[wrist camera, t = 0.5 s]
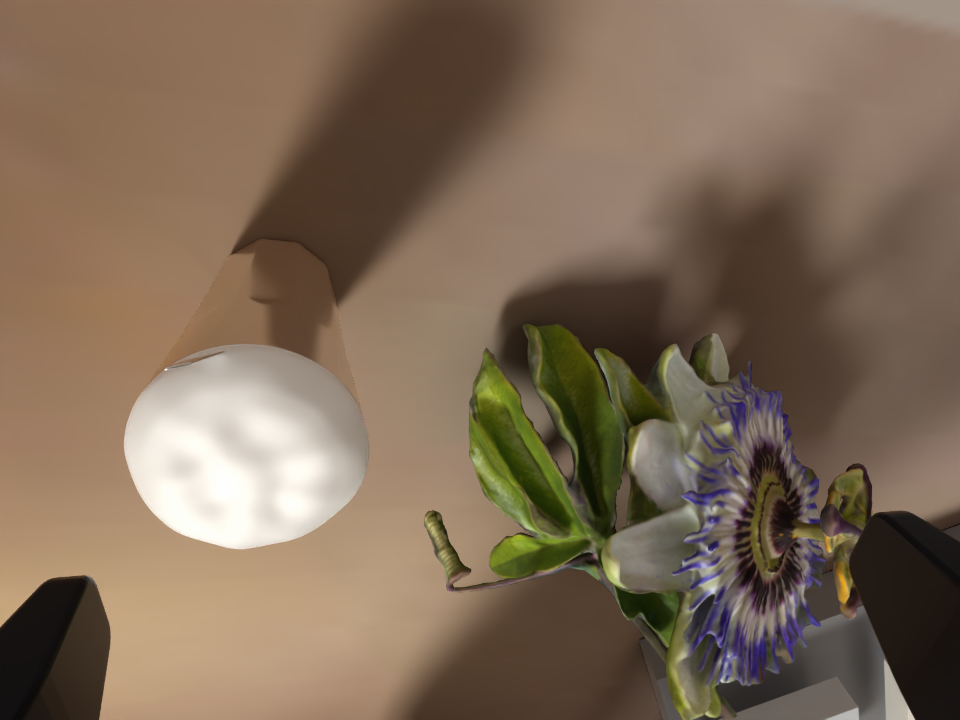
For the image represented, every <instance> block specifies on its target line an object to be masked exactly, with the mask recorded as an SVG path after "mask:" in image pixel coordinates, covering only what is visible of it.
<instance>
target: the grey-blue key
mask: <svg viewBox="0 0 960 720" xmlns="http://www.w3.org/2000/svg"><path fill="white" fill-rule="evenodd" d="M736 714H737V717H735V718H733V719H730V720H859V711H858V706H857V705H856V703H855V702H854V701H853V699H852V698H851V696H850V695H849V693H848V692H847V691H846V689H845V688H844V686H843V685H842V683H841V682H840V680H839V679H838V678H837V677H834V678H831V679H829V680H826V681H823V682H820V683H818V684H815V685H812V686H809V687H806V688H804V689H801V690H798V691H795V692H793V693H790V694H787V695H784V696H782V697H779V698H776V699H773V700H771V701H768V702H765V703H762V704H760V705H757V706H754V707H751V708H748V709H746V710H743V711H740V712H737V713H736ZM718 720H727V719H726V718H725V717H724V718H721V719H718Z"/></svg>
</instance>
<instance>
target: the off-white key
mask: <svg viewBox="0 0 960 720" xmlns="http://www.w3.org/2000/svg"><path fill="white" fill-rule="evenodd" d="M884 676H885V705H886V720H915V719H914V717H913V715H912V713H911V711H910V710H909V708H908V706H907V704H906V702H905V700H904V698H903V696H902V694H901V692H900V690H899V687H898V685H897V683H896V681H895V679H894V676H893V674H892V672H891V670H890V667H889V665H888V663H887V660H886V659H884Z"/></svg>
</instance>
